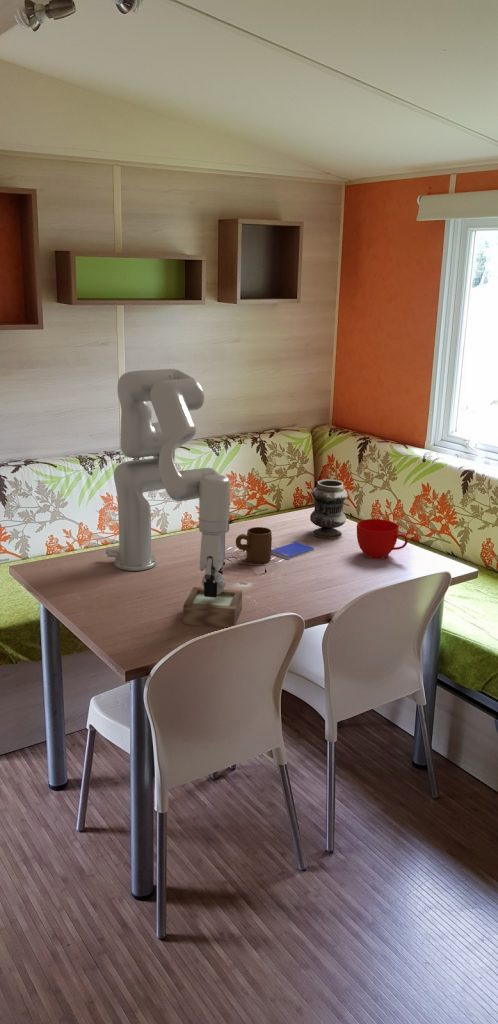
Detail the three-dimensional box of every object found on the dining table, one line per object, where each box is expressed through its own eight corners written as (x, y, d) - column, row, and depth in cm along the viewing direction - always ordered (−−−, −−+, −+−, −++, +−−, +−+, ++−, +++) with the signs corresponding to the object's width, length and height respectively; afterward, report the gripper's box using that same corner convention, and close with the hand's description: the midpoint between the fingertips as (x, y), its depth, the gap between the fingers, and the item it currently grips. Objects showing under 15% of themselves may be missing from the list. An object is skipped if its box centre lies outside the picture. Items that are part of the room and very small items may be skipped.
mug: (241, 568, 251) (242, 538, 249) (229, 560, 258) (229, 530, 255) (275, 561, 257) (276, 532, 255) (262, 554, 264) (263, 525, 261)
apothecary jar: (334, 542, 276) (337, 489, 271) (302, 535, 282) (305, 483, 277) (351, 532, 286) (354, 481, 280) (320, 526, 292) (322, 476, 287)
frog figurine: (198, 599, 213) (198, 573, 211) (205, 589, 219) (205, 563, 217) (221, 601, 212) (222, 575, 210) (228, 591, 218) (228, 566, 216)
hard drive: (288, 556, 259) (314, 547, 268) (269, 550, 264) (294, 541, 273) (288, 561, 259) (314, 552, 268) (269, 554, 265) (294, 545, 273)
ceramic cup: (395, 568, 254) (398, 537, 251) (347, 556, 263) (349, 525, 261) (415, 557, 264) (417, 527, 261) (367, 545, 273) (369, 516, 270)
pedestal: (183, 623, 212) (183, 604, 211) (193, 605, 224) (193, 587, 222) (234, 628, 211) (234, 609, 209) (241, 609, 222) (242, 590, 221)
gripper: (206, 513, 219) (205, 577, 224) (192, 534, 202) (191, 602, 207) (234, 515, 218) (233, 579, 223) (222, 536, 201) (221, 605, 206)
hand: (213, 590), depth 215 cm, fingers closed on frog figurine, 7 cm apart
